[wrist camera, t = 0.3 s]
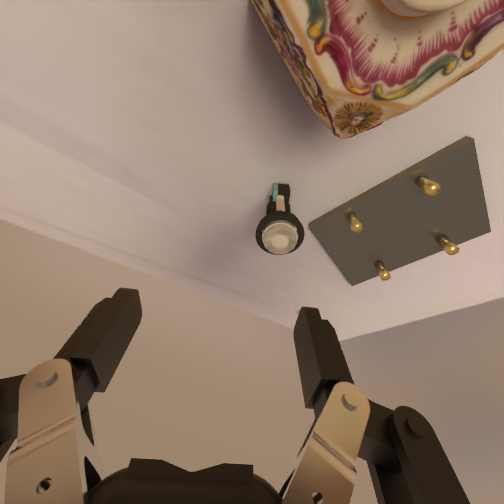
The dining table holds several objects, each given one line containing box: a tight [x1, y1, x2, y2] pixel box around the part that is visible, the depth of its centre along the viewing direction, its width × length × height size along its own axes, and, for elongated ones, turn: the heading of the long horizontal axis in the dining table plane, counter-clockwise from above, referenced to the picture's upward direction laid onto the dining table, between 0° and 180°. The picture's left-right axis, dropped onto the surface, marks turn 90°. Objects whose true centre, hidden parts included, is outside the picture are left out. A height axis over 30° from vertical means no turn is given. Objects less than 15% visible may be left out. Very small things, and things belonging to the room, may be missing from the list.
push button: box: [256, 183, 304, 255], centre depth 29 cm, size 7×5×10 cm
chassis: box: [309, 136, 491, 286], centre depth 33 cm, size 20×15×4 cm
